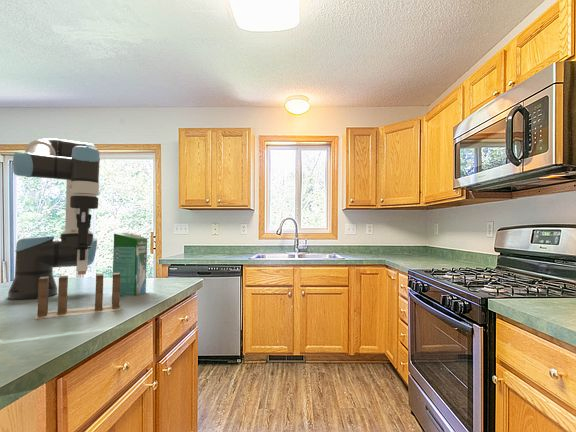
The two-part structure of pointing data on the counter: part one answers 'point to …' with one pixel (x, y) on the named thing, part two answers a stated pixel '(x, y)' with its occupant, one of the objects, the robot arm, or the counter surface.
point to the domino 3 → (99, 292)
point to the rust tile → (81, 272)
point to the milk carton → (130, 262)
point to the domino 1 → (43, 296)
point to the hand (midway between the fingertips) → (82, 269)
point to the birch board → (78, 311)
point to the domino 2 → (62, 295)
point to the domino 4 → (116, 291)
